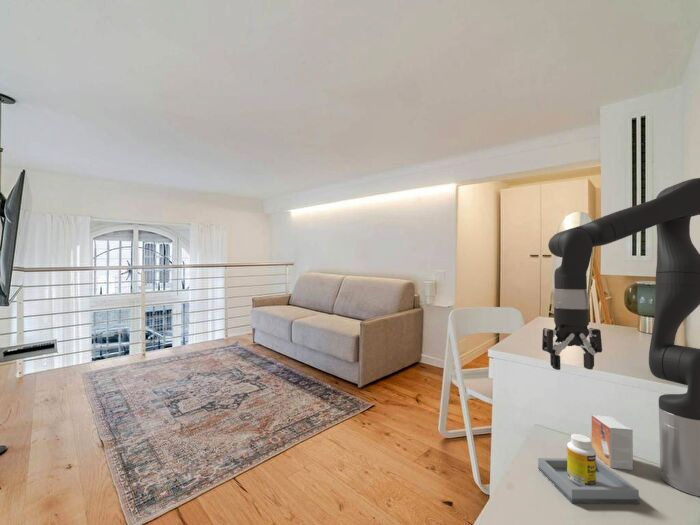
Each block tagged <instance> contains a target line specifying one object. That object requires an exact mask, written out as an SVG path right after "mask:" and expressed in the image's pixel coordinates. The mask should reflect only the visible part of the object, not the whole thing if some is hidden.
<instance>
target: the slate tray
mask: <svg viewBox="0 0 700 525" xmlns="http://www.w3.org/2000/svg"><path fill="white" fill-rule="evenodd" d="M537 462H538V467H537V469H539V470H540V471H541V472H542V473H543V474H544V475H545V476H546V477H547V478H548V479H549V480H550V481H551V482H552V483H553V484H554V485H553V484H552V483H551V482H550V481H549V480H548V479H547V478H546V477H545V476H544V475H543V474H542V473H541V472H540V471H539V470H538V471H539V472H540V473H541V474H542V475H543V476H544V477H545V478H546V479H547V480H548V481H549V482H550V483H551V484H552V485H553V486H554V488H556V489H557V491H559V492H560V493H561V495H563V497H565V498H566V499H567V500H568V501H569V503H571V505H572V504H573V505H574V504H583V505H585V504H588V505H590V504H591V505H592V504H593V505H595V504H596V505H597V504H600V505H602V504H603V505H610V504H611V505H613V504H615V505H620V504H621V505H639V504H640V494H639V493H640V491H639V489H638V488H637V487H635V486H634V485H633V484H631V483H630V482H628V481H627V480H626V479H625V478H623V477H621V476H620V475H619V474H617V473H616V472H615V471H613V470H612V468H610V467H609V466H606V464H605V463H602V462H601V461H600V460H598V459H597V458H596V485H595V486H594V487H582V486H579V485H577V484H575V483H574V482H572V481H571V480H570V479H569V478H568V475H567V457H566V458H563V457H562V458H561V457H556V458H555V457H552V458H551V457H549V458H548V457H538V459H537Z"/></svg>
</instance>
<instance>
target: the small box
mask: <svg viewBox="0 0 700 525" xmlns="http://www.w3.org/2000/svg"><path fill="white" fill-rule="evenodd" d="M633 433H634V431H633V429H632V428H631V427H628V426H627V425H625V424H623V423H622V422H621V421H619V420H618V419H616V418H615V417H613V416H608V415H607V416H606V415H597V414H595V415H594V414H591V444H592V446H591V447H593V448H594V450H595V452H596V457H597V458H599V459H600V460H601V461H602V462H603V464H604V465H607V467H608V468H609V469H620V470H629V471H632V470H633V469H634V466H633V465H634V462H633V461H634V456H633V455H634V450H633V449H634V447H633V446H634V443H633V442H634V439H633V438H634V436H633Z"/></svg>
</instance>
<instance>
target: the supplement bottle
mask: <svg viewBox="0 0 700 525" xmlns="http://www.w3.org/2000/svg"><path fill="white" fill-rule="evenodd" d="M566 452H567V453H566V455H567V456H566V458H567V475H568V478H569V479H570V480H571V481H572V482H574V483H575V484H577V485H579V486H582V487H594V486H595V485H596V459H597V458H596V457H597V455H596V452H595V450H594V448H593V447H592V438H589V437H588V436H586V435H584V434H578V433H572V434H571V435H570V441H568V442H567V444H566Z"/></svg>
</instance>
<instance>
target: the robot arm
mask: <svg viewBox="0 0 700 525" xmlns="http://www.w3.org/2000/svg"><path fill="white" fill-rule="evenodd" d="M696 216H700V177H697V178H696V177H695V178H690V179H686V180H683V181H681V182H678V183H677V184H676V183H675V184H674V185H671V186H668V187H666V188H664V189H662V190H661V191H660V192H659V193H658V194H657V196H656V198H654V199H652V200H649V201H648V200H647V201H646V202H642V203H639V204H637V205H633V206H630V207H627V208H624V209H620V210H618V211H615V212H611V213H609V214H607V215H604V216H601V217H599V218H596V219H594V220H592V221H590V222H588V223H584V224H582V225H579V226H575V227H572V228H568V229H565V230H562V231H559V232H557V233H556V234H554V235H553V236H551V237H550V239H549V241H548V250H549V252H550V253H551V254H552V255H554V257H555V256H556V257H558V258H562V259H561V263H560V265H559V267H557V268H556V269H555V270H554V275H553V276H554V282H553V283H554V284H553V285H554V290H553V322H554V324H555V327H554V328H546V327H544V328H543V329H542V338H541V339H542V340H541V341H542V342H541V343H542V344H541V350H542V351H543V352H546V353H548V354H550V355H549V356H550V366H551V368H553V369H554V370H555V371H560V370H561V355H560V354H561V352H562V351H563V350H565V349H566V347H573V346H576V347H580V348H581V350H582V351H583V368H585V369H587V370H591V371H592V370H593V369H594V367H595V355H596V354H598V353H602V352H603V344H602V342H603V341H602V334H601V333H602V332H601V330H600V329H599V328H593V327H589V328H588V326H589V325H590V310H589V309H590V304H589V301H590V300H589V294H588V280H587V277H588V276H587V272H588V269H589V266H590V262H591V259H592V255H593V248H595V247H601V246H605V245H609V244H611V243H614V242H616V241H620V240H622V239H625V238H627V237H630V236H633V235H635V234H637V233H640V232H643V231H645V230H647V229H650V228H652V227H655V226H656V235H657V236H656V237H657V242H656V243H657V244H656V270H655V284H654V286H655V288H654V289H655V290H654V292H655V295H654V296H655V301H654V318H653V324H652V325H653V327H652V332H651V339H650V343H649V344H650V345H649V350H648V351H649V352H648V365H649V366H648V367H649V371H650V373H651V374H652V375H653V376H654V377H655V378H656V379H657V378H658V379H660V380H664V381H668V382H672V383H677V384H679V385H680V384H681V385H684V386H687V391H686V392H684V393H667V394H666V393H665V394H661V395H660V396H659V397H658V425H659V426H658V430H659V432H658V433H659V470H660V471H659V475H660V479H661V480H663V481H664V482H665V483H666V484H668V485H669V486H671V487H673V488H674V489H677V490H679V491H681V492H684V493H687V494H690V495H693V496H696V497H700V348H698V347H697V348H696V347H692V346H685V345H678V344H675V341H676V337H677V334H678V330H679V329H680V327H681V325H682V323H683V322H684V321H685V319H687V317H689V315H691V314H692V313H693V312H694V311H695V310H696V309H697V308H698V307H699V306H700V252H699V251H698V250H697V248H696V247H695V245H694V244H693V242H692V239H691V234H690V232H691V231H690V227H691V218H692V217H696ZM588 337H589V340H588V339H587V338H588Z"/></svg>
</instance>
